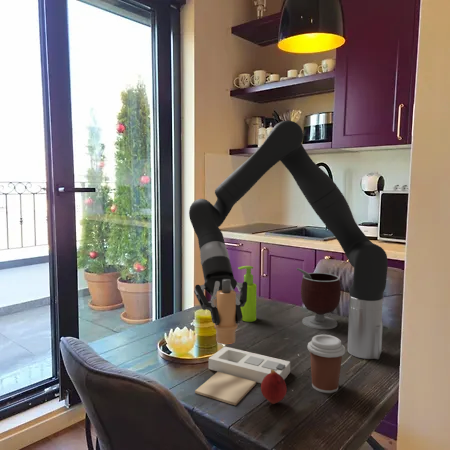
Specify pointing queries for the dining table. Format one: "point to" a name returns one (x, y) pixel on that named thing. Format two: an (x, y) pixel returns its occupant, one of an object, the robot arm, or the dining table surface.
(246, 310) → the soap dispenser
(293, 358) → the dining table surface
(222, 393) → the cork mat
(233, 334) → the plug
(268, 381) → the onion
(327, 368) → the coffee cup
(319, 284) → the mate gourd
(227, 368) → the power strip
